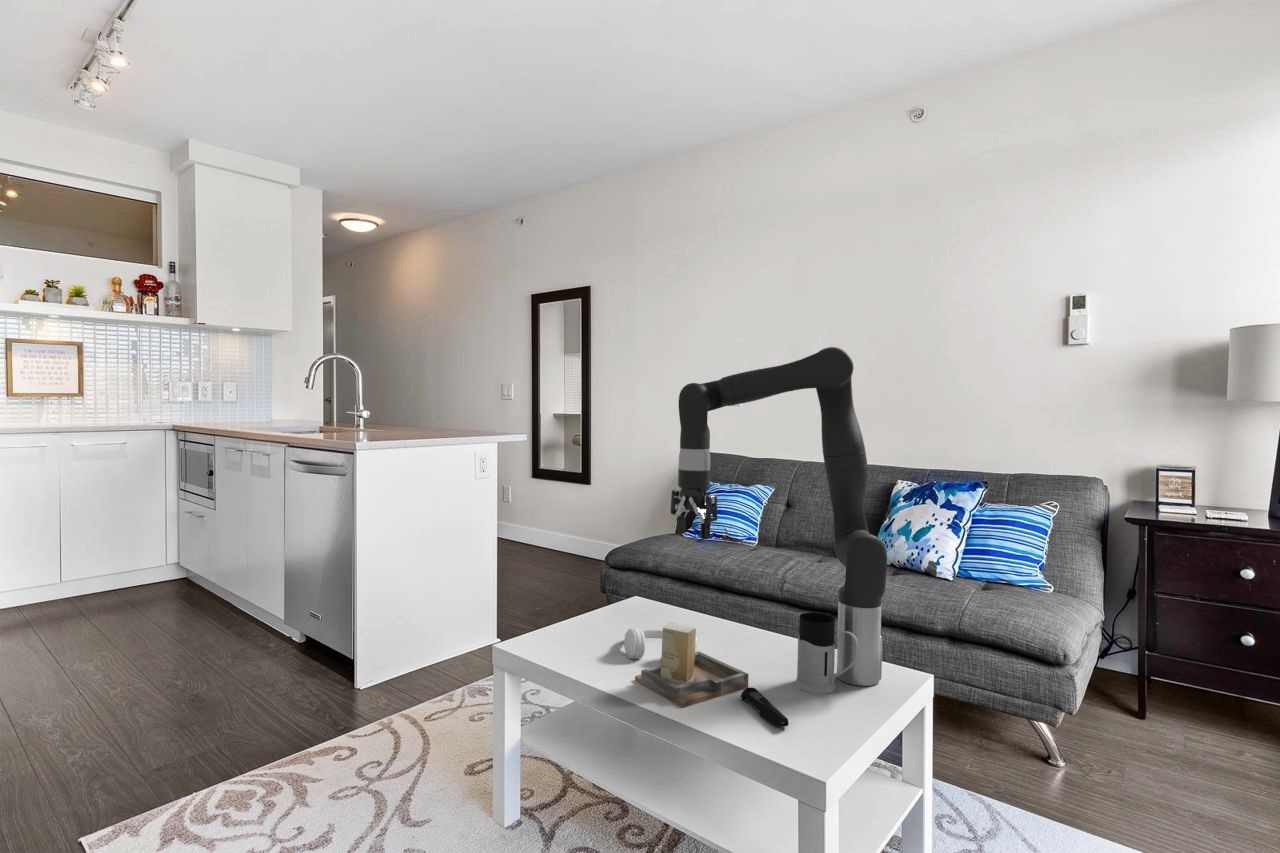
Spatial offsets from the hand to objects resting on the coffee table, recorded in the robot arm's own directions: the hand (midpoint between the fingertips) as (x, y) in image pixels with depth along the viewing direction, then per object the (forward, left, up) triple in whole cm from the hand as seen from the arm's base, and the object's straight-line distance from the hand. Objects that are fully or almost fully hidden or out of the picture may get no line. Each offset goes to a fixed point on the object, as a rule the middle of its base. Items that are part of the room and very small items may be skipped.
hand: (692, 536), depth 158 cm
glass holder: (-15, +28, -30) cm, 44 cm away
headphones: (+1, -10, -31) cm, 32 cm away
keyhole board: (+8, +10, -30) cm, 33 cm away
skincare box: (+12, +10, -29) cm, 33 cm away
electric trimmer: (+5, +29, -31) cm, 42 cm away
